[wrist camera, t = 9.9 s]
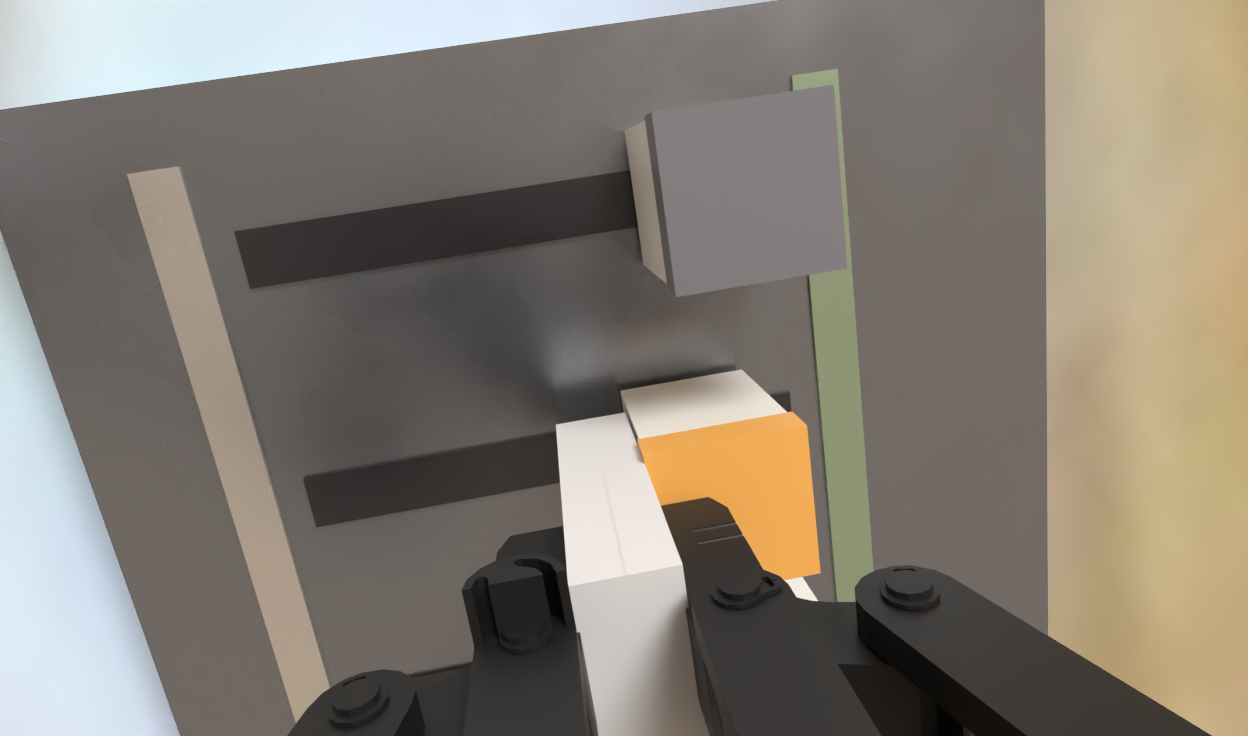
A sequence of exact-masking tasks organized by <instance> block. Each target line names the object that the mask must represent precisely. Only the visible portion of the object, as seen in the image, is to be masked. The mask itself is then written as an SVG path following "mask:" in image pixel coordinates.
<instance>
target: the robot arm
mask: <svg viewBox="0 0 1248 736" xmlns="http://www.w3.org/2000/svg"><path fill="white" fill-rule="evenodd" d="M556 434H557V447H558V460H559V474H560V487H561V500H562V513H563V526H560V527H555V528H549V529H544V530H539V531H533V532H528V533H522V534H517V535H512V536H510V537H509V538H508V539H507V541H506V542H505V543H504V544H503V545H502V547H501V548H500V549H499V550H498V552H497V557H496V561H494V562H492V563H490V564H488V565H486V566H484V567H482V568H480V569H479V570H477V571H476V572H475V573H474V574H473V575H471V576H470V577H469V578H468V579H467V580H466V582H465V584H464V586H463V588H462V590H461V591H462V595H463V599H464V604H465V608H466V613H467V617H468V621H469V626H470V630H471V635H472V639H473V643H474V653H473V661H472V662H471V663H470V664H469V665H467V666H466V667H465V668H463V669H462V670H460V671H459V672H457V673H456V674H454V675H452V676H450V677H448V678H445V679H443V680H441V681H439V682H437V683H434V684H432V685H429V686H427V687H425V688H422V689H420V690H417V691H416V688H415V686H414V683H413V680H412V678H411V677H409V676H408V675H406V674H404V673H403V672H401V671H396V670H386V669H381V670H375V671H370V672H363V673H360V674H356V675H355V676H353V677H352V676H351V677H349V678H346V679H344V680H342V681H341V682H339V683H337V684H336V685H334V686H333V687H331V688H330V689H328V690H326V691H325V692H323V693H322V694H321V695H320V696H319V697H318V698H317V699H316V700H315V701H314V702H313V703H312V704H311V705H310V706H309V707H308V708H307V709H306V711H305V712H304V714H303V715H302V716H301V718H300V719H299V720H298V722H297V723H296V724H295V726H294V727H293V728H292V730H291V731H290V732H289V734H288V735H287V736H707V733H706V726H707V729H708V732H709V736H1211V735H1210V734H1208V733H1206V732H1205V731H1203V730H1202V729H1200V728H1198V727H1197V726H1195V725H1193V724H1192V723H1190V722H1188V721H1187V720H1185V719H1183V718H1182V717H1180V716H1179V715H1177V714H1175V713H1174V712H1172V711H1170V710H1169V709H1167V708H1165V707H1164V706H1162V705H1161V704H1159V703H1157V702H1156V701H1154V700H1152V699H1151V698H1149V697H1147V696H1146V695H1144V694H1142V693H1141V692H1139V691H1138V690H1136V689H1134V688H1133V687H1131V686H1129V685H1128V684H1126V683H1124V682H1123V681H1121V680H1120V679H1118V678H1116V677H1115V676H1113V675H1111V674H1110V673H1108V672H1106V671H1105V670H1103V669H1101V668H1100V667H1098V666H1097V665H1095V664H1093V663H1092V662H1090V661H1088V660H1087V659H1085V658H1083V657H1082V656H1080V655H1078V654H1077V653H1075V652H1074V651H1072V650H1070V649H1069V648H1067V647H1065V646H1064V645H1062V644H1060V643H1059V642H1057V641H1056V640H1054V639H1052V638H1051V637H1049V636H1047V635H1046V634H1044V633H1042V632H1041V631H1039V630H1037V629H1036V628H1034V627H1033V626H1031V625H1029V624H1028V623H1026V622H1024V621H1023V620H1021V619H1019V618H1018V617H1016V616H1015V615H1013V614H1011V613H1010V612H1008V611H1006V610H1005V609H1003V608H1001V607H1000V606H998V605H996V604H995V603H993V602H992V601H990V600H988V599H987V598H985V597H983V596H982V595H980V594H978V593H977V592H975V591H973V590H972V589H970V588H969V587H967V586H965V585H964V584H962V583H960V582H959V581H957V580H955V579H954V578H952V577H950V576H948V575H945V574H943V573H941V572H938V571H936V570H933V569H927V568H922V567H917V566H911V565H904V566H902V565H899V566H891V567H887V568H883V569H878V570H875V571H873V572H871V573H869V574H867V575H865V576H864V577H862V578H861V579H860V581H859V582H858V583H857V585H856V586H855V601H856V602H824V601H811V600H806V599H802V598H797V597H796V596H795V594H794V592H793V591H792V589H791V587H790V586H789V584H788V583H786V582H785V581H784V580H783V579H782V578H781V577H780V576H778V575H776V574H773V573H771V572H768V571H766V570H763V568H762V566H761V565H760V563H759V561H758V559H757V558H756V556H755V554H754V552H753V551H752V549H751V547H750V546H749V544H748V542H747V540H746V539H745V537H744V536H743V535H742V532H741V530H740V528H739V526H738V525H737V524H736V522H735V520H734V518H733V516H732V514H731V513H730V511H729V509H728V507H726V506H725V505H723V504H721V503H719V502H717V501H715V500H714V499H712V498H710V497H705V498H700V499H694V500H689V501H683V502H678V503H673V504H667V505H662V506H660V503H659V500H658V498H657V495H656V492H655V490H654V487H653V484H652V482H651V479H650V476H649V474H648V471H647V468H646V466H645V464H644V461H643V458H642V456H641V453H640V451H639V448H638V444H637V442H636V439H635V436H634V434H633V431H632V429H631V426H630V423H629V421H628V418H627V415H626V413H619V414H613V415H607V416H602V417H596V418H590V419H585V420H579V421H573V422H568V423H562V424H556ZM705 723H706V726H705Z"/></svg>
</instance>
